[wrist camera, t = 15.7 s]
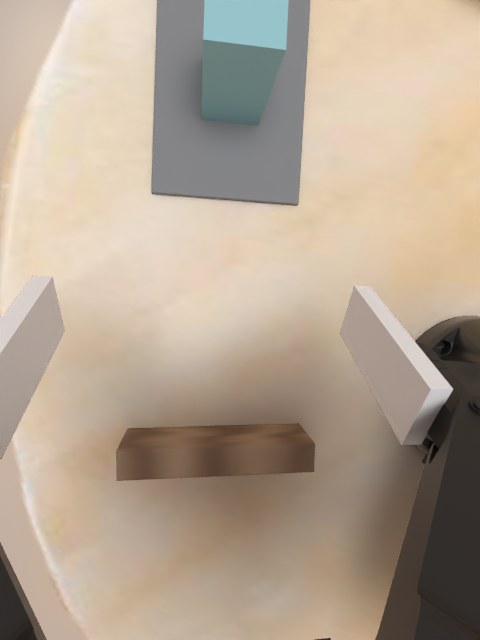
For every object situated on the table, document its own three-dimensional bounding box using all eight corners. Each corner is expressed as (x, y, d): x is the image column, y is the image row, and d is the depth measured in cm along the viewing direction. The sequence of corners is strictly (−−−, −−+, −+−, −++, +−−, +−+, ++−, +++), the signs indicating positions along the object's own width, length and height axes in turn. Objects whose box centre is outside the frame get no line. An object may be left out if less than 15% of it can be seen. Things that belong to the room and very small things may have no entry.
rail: (298, 422, 35) (314, 443, 30) (297, 446, 35) (313, 471, 30) (128, 427, 33) (116, 451, 28) (128, 453, 34) (116, 480, 29)
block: (261, 65, 32) (290, -38, 22) (258, 125, 32) (286, 49, 22) (203, 58, 31) (206, -51, 21) (201, 119, 31) (203, 39, 21)
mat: (308, -2, 32) (310, -8, 32) (296, 205, 33) (298, 203, 33) (159, -25, 31) (158, -31, 30) (152, 193, 32) (151, 191, 31)
